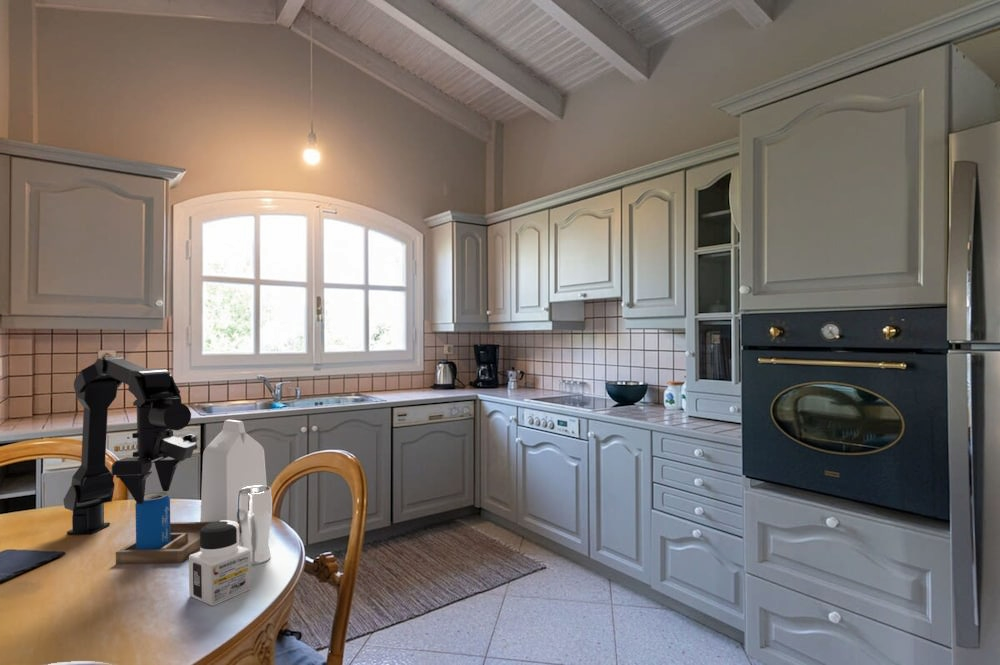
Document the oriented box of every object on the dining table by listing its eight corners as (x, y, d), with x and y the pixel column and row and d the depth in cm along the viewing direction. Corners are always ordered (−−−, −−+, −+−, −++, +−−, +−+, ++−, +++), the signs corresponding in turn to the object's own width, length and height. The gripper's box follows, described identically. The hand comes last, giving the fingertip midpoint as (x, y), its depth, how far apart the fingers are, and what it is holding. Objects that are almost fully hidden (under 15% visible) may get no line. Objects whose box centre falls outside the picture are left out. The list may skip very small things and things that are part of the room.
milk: (269, 518, 144) (267, 419, 144) (227, 531, 134) (225, 426, 134) (242, 510, 151) (240, 416, 150) (200, 523, 141) (198, 422, 141)
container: (212, 607, 97) (211, 534, 97) (188, 596, 101) (187, 526, 101) (252, 589, 104) (251, 521, 104) (228, 580, 108) (227, 514, 108)
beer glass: (279, 555, 120) (279, 486, 120) (256, 568, 113) (255, 495, 113) (254, 551, 122) (253, 484, 122) (229, 564, 116) (228, 493, 116)
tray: (166, 532, 134) (166, 521, 134) (223, 531, 134) (223, 520, 134) (115, 563, 116) (115, 550, 116) (182, 562, 116) (182, 549, 116)
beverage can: (154, 556, 118) (153, 500, 118) (128, 554, 119) (127, 499, 119) (177, 545, 124) (176, 492, 124) (152, 543, 125) (152, 490, 125)
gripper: (163, 433, 112) (165, 510, 112) (210, 419, 131) (211, 484, 131) (108, 434, 112) (110, 511, 112) (163, 420, 131) (164, 485, 131)
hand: (153, 497), depth 121 cm, fingers open, 9 cm apart
